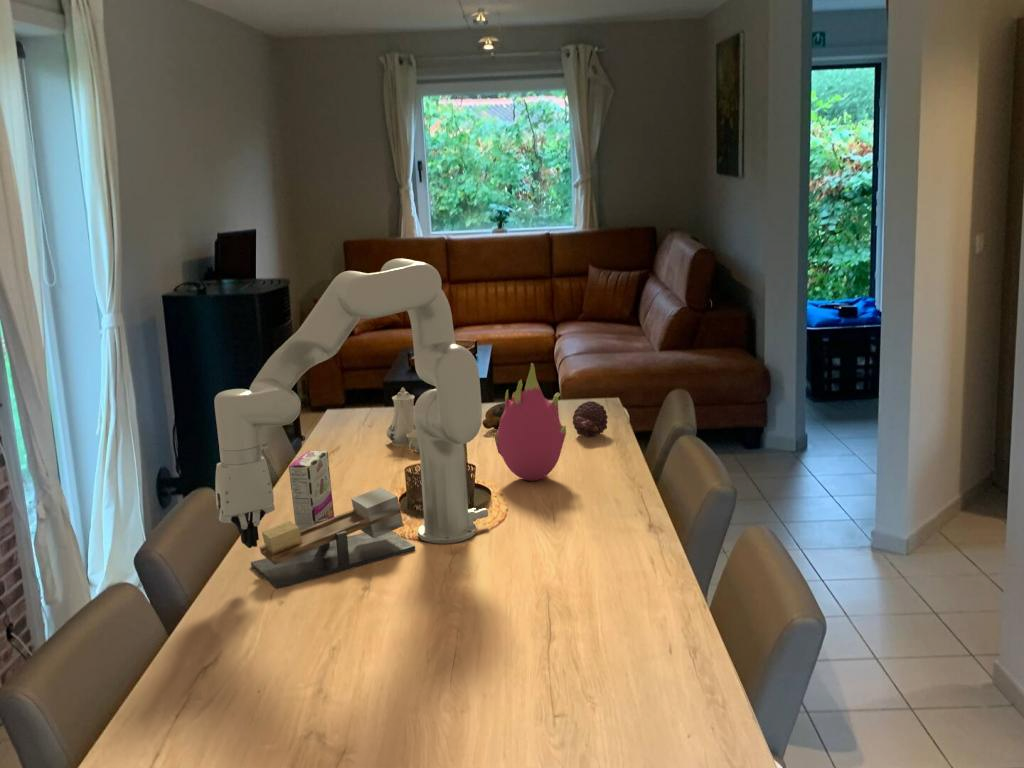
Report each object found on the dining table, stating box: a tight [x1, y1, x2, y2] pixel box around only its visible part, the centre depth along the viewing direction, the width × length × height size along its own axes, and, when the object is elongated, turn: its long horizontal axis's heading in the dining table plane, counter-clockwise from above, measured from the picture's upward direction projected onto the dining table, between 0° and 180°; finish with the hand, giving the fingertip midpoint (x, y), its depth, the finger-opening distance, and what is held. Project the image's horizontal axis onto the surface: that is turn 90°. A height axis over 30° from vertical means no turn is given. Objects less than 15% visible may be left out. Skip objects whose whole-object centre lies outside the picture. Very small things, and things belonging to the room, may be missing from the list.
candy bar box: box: [288, 449, 335, 531], centre depth 222 cm, size 11×5×16 cm, turn 168°
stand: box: [250, 518, 416, 590], centre depth 206 cm, size 30×14×7 cm, turn 124°
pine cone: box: [572, 400, 609, 439], centre depth 286 cm, size 18×10×10 cm, turn 178°
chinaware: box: [386, 387, 420, 454], centre depth 286 cm, size 28×17×17 cm, turn 178°
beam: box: [259, 486, 404, 565], centre depth 205 cm, size 28×8×7 cm, turn 124°
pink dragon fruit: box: [494, 362, 567, 482], centre depth 248 cm, size 18×14×30 cm
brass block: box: [261, 521, 303, 556], centre depth 199 cm, size 6×4×4 cm
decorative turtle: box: [481, 402, 505, 430], centre depth 297 cm, size 10×15×8 cm, turn 137°
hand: (250, 545), depth 196 cm, fingers closed
